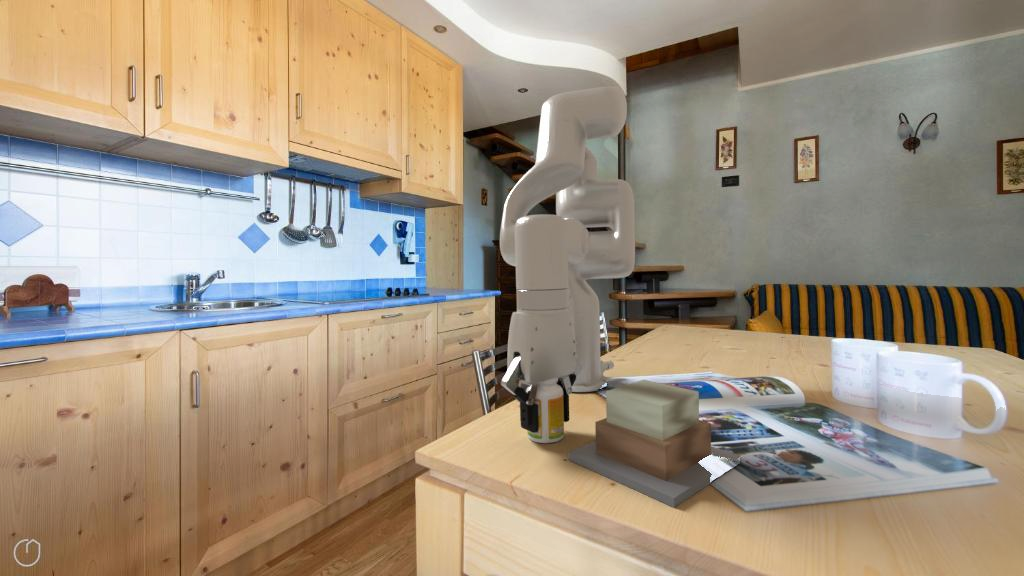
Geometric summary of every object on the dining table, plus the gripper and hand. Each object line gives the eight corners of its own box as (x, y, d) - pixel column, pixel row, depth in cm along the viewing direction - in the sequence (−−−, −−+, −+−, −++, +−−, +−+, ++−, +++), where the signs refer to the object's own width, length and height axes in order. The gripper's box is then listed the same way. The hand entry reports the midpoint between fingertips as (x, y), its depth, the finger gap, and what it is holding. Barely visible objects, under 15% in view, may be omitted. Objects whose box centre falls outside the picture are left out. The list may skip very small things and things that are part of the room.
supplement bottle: (563, 430, 67) (562, 367, 66) (564, 444, 62) (563, 376, 61) (528, 429, 67) (527, 367, 67) (526, 444, 62) (524, 376, 62)
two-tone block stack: (642, 432, 63) (641, 377, 62) (711, 455, 55) (710, 391, 54) (595, 452, 56) (594, 391, 56) (665, 481, 49) (665, 409, 48)
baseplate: (638, 430, 66) (638, 423, 66) (740, 463, 54) (740, 455, 54) (568, 459, 57) (568, 451, 57) (673, 507, 45) (673, 498, 45)
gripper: (565, 296, 72) (568, 405, 73) (478, 304, 61) (482, 432, 62) (601, 298, 66) (603, 417, 67) (512, 307, 55) (516, 448, 56)
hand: (545, 423), depth 64 cm, fingers closed on supplement bottle, 5 cm apart
